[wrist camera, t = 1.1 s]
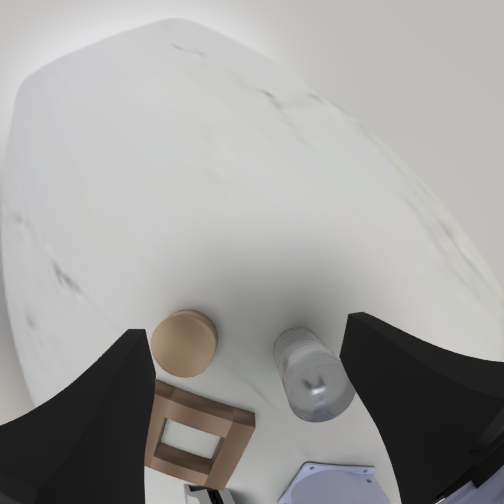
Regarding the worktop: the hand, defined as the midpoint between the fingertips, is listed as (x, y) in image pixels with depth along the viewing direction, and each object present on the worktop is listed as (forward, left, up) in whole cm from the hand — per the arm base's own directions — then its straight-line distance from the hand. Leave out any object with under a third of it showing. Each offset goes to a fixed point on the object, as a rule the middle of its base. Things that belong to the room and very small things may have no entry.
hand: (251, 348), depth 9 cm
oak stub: (+4, +5, -14) cm, 15 cm away
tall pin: (-5, +3, -14) cm, 15 cm away
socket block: (+1, +15, -14) cm, 20 cm away
